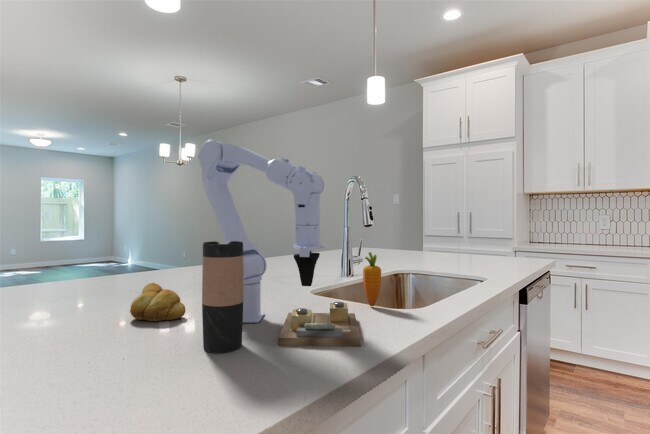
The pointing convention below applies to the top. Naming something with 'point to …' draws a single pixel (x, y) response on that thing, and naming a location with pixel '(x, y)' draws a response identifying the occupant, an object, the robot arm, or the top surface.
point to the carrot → (372, 280)
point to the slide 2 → (338, 312)
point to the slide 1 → (300, 318)
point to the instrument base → (321, 332)
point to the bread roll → (157, 304)
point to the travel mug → (222, 296)
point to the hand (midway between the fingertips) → (306, 285)
